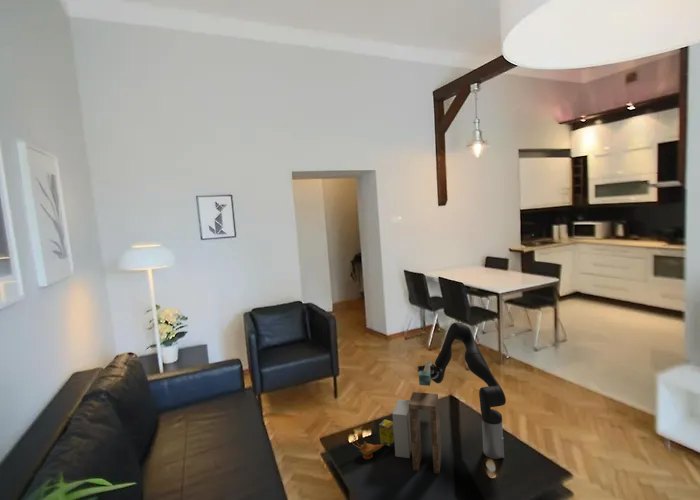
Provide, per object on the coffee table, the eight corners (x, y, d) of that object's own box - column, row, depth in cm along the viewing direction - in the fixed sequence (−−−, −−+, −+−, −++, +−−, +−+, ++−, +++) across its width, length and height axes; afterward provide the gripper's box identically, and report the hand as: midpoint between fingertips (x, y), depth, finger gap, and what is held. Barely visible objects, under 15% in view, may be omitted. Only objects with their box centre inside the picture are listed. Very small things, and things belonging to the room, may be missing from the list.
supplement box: (389, 447, 192) (388, 427, 191) (380, 444, 196) (378, 424, 195) (395, 441, 197) (394, 421, 196) (386, 438, 200) (384, 418, 199)
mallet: (434, 366, 201) (433, 358, 200) (429, 385, 180) (429, 375, 180) (424, 366, 202) (424, 357, 202) (419, 385, 182) (418, 375, 181)
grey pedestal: (414, 440, 196) (411, 400, 194) (409, 458, 183) (406, 415, 181) (400, 439, 199) (398, 399, 197) (395, 456, 185) (392, 413, 183)
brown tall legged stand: (441, 457, 182) (437, 393, 179) (439, 473, 170) (435, 406, 168) (416, 453, 185) (412, 392, 183) (413, 469, 174) (408, 404, 171)
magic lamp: (388, 460, 182) (387, 438, 181) (352, 460, 185) (350, 438, 184) (389, 451, 189) (387, 430, 188) (353, 451, 191) (352, 430, 190)
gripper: (418, 363, 212) (414, 359, 197) (444, 365, 208) (441, 360, 193) (418, 377, 209) (413, 374, 194) (444, 379, 205) (441, 375, 190)
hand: (427, 367), depth 194 cm, fingers closed on mallet, 3 cm apart
